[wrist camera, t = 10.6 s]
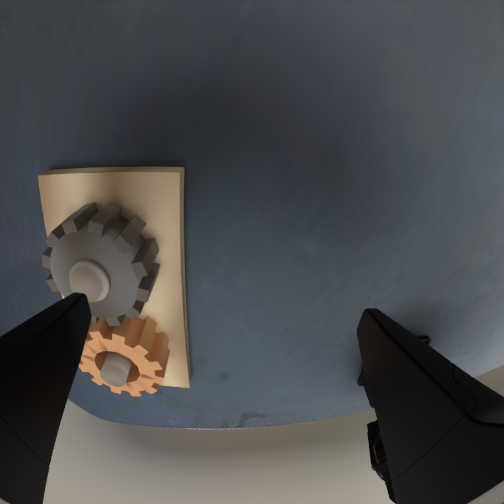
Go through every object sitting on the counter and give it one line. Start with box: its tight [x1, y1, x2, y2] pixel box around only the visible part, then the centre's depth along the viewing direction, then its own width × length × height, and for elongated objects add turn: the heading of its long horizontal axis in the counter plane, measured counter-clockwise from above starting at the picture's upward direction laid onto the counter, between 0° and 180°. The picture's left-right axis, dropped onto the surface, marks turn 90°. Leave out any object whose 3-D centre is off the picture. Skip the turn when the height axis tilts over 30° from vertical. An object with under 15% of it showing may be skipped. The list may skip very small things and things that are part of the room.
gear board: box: [38, 167, 191, 388], centre depth 19 cm, size 10×19×6 cm, turn 175°
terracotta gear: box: [79, 315, 170, 396], centre depth 21 cm, size 7×7×3 cm
